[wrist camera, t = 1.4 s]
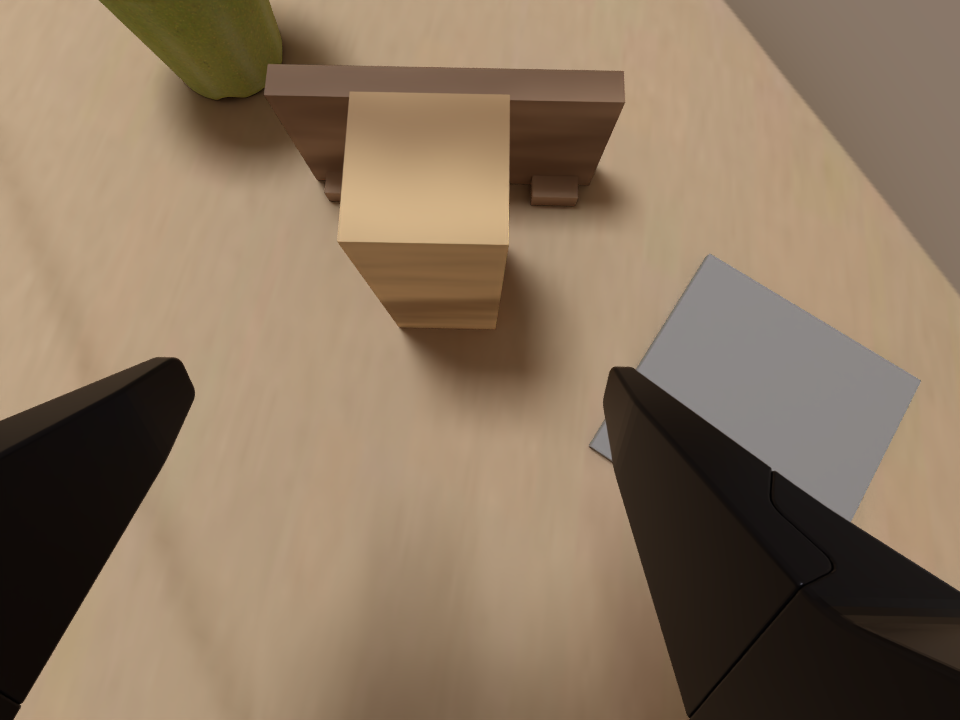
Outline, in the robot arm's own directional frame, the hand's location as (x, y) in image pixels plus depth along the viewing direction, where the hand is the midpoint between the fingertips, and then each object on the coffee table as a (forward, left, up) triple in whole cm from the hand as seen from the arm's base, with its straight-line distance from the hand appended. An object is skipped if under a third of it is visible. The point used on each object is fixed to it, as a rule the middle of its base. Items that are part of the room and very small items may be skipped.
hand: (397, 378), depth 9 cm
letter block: (+6, +2, -13) cm, 15 cm away
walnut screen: (+12, +5, -13) cm, 18 cm away
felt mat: (+6, -14, -13) cm, 20 cm away
